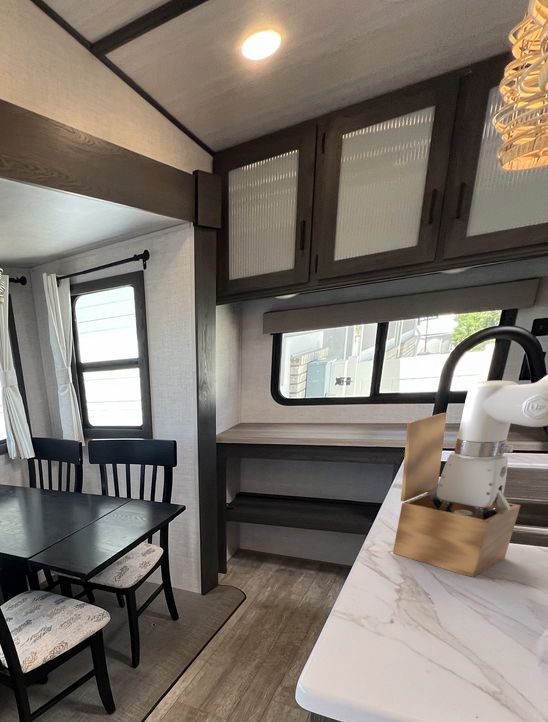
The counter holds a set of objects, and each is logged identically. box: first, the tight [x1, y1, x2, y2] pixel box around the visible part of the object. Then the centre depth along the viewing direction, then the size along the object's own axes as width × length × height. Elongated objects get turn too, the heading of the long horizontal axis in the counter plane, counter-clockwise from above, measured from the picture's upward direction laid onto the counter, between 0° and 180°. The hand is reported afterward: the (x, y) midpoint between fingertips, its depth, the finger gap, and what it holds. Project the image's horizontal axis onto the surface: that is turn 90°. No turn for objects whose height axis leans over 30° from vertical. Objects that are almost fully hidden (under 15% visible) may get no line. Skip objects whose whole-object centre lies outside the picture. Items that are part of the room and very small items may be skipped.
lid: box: [400, 412, 447, 502], centre depth 100 cm, size 16×14×1 cm
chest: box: [392, 492, 521, 578], centre depth 99 cm, size 16×14×12 cm
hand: (458, 533), depth 98 cm, fingers closed on pepper shaker, 4 cm apart
